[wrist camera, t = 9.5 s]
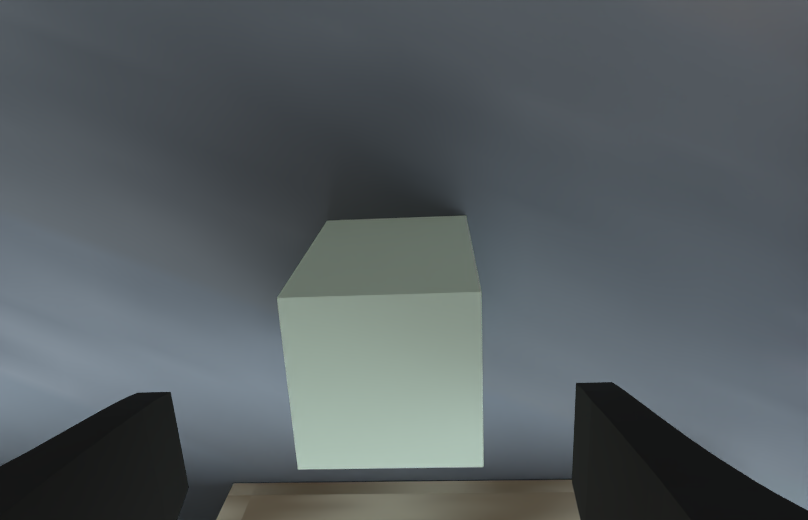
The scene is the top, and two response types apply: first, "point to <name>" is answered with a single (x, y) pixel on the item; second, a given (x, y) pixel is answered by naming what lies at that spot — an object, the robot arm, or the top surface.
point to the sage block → (385, 346)
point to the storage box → (403, 501)
